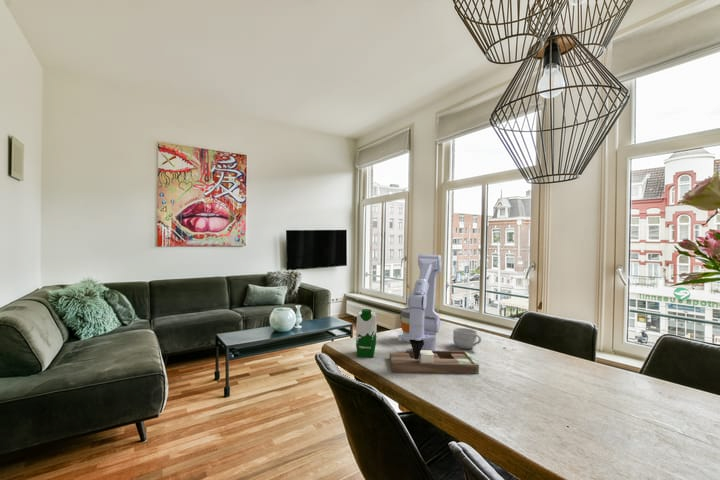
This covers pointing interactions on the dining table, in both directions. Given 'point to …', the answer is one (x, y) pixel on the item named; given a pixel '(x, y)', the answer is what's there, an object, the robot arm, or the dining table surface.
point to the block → (426, 356)
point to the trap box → (435, 363)
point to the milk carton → (366, 333)
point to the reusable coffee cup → (405, 321)
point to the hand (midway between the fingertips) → (416, 358)
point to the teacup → (465, 337)
